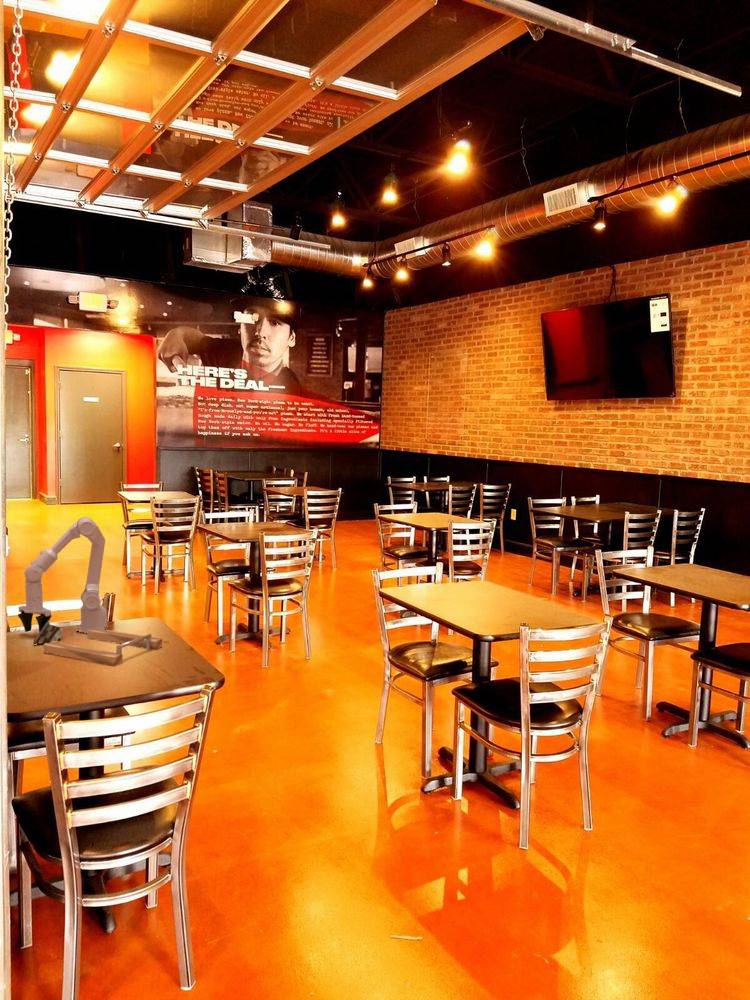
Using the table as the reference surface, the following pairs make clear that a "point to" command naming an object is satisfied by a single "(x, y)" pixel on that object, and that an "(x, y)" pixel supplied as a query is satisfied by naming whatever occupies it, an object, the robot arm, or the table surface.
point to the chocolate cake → (48, 634)
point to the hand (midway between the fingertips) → (35, 632)
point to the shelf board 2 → (122, 637)
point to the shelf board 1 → (84, 653)
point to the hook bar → (148, 637)
